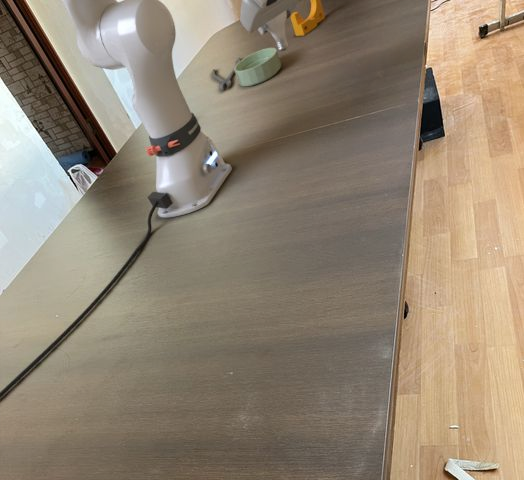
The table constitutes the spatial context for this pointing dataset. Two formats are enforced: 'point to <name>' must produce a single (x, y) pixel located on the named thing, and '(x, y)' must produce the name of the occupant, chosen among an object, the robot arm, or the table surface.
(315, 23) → the pipe clamp
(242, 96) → the table surface
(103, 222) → the table surface
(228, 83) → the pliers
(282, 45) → the lightbulb
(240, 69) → the bowl
